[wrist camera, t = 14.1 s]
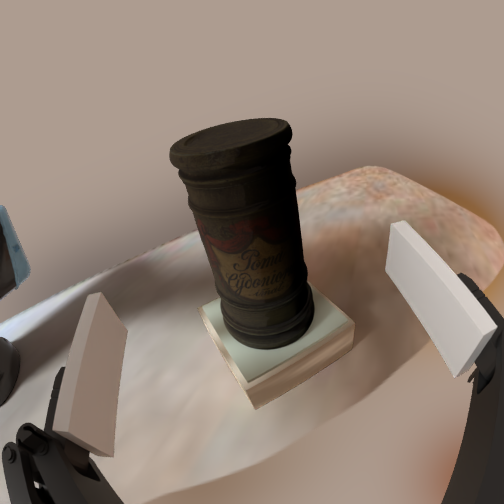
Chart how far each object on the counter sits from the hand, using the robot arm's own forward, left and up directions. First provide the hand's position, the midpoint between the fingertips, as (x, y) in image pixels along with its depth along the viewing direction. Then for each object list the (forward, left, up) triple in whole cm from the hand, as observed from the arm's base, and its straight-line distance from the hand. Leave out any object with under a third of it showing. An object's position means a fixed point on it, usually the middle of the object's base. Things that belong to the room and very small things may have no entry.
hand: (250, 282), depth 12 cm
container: (-9, +4, -14) cm, 17 cm away
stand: (-9, +4, -19) cm, 22 cm away
